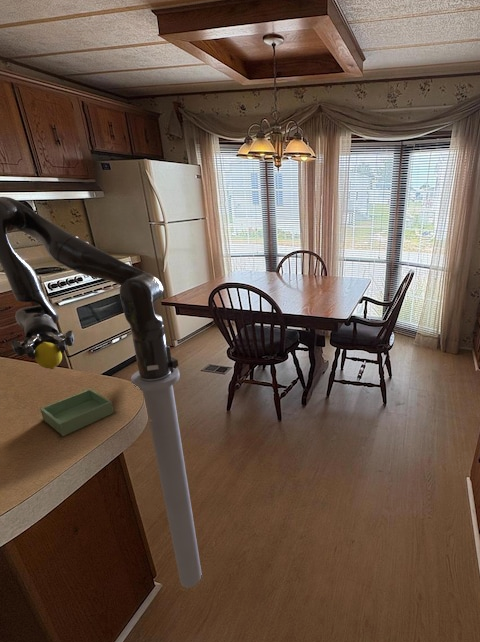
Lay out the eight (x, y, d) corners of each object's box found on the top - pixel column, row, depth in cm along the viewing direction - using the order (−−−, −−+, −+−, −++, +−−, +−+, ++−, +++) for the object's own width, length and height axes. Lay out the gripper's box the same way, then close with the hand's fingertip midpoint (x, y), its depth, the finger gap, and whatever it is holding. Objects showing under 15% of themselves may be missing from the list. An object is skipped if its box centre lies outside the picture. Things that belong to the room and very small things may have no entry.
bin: (93, 399, 99) (90, 388, 97) (114, 412, 93) (111, 401, 92) (43, 420, 89) (39, 408, 88) (63, 436, 84) (59, 424, 82)
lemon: (42, 366, 93) (33, 339, 90) (66, 362, 95) (59, 336, 92) (37, 375, 88) (28, 347, 85) (63, 371, 91) (55, 344, 88)
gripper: (4, 325, 93) (5, 345, 82) (68, 315, 102) (77, 332, 91) (13, 350, 96) (15, 373, 85) (74, 338, 105) (84, 357, 94)
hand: (47, 352), depth 88 cm, fingers closed on lemon, 5 cm apart
